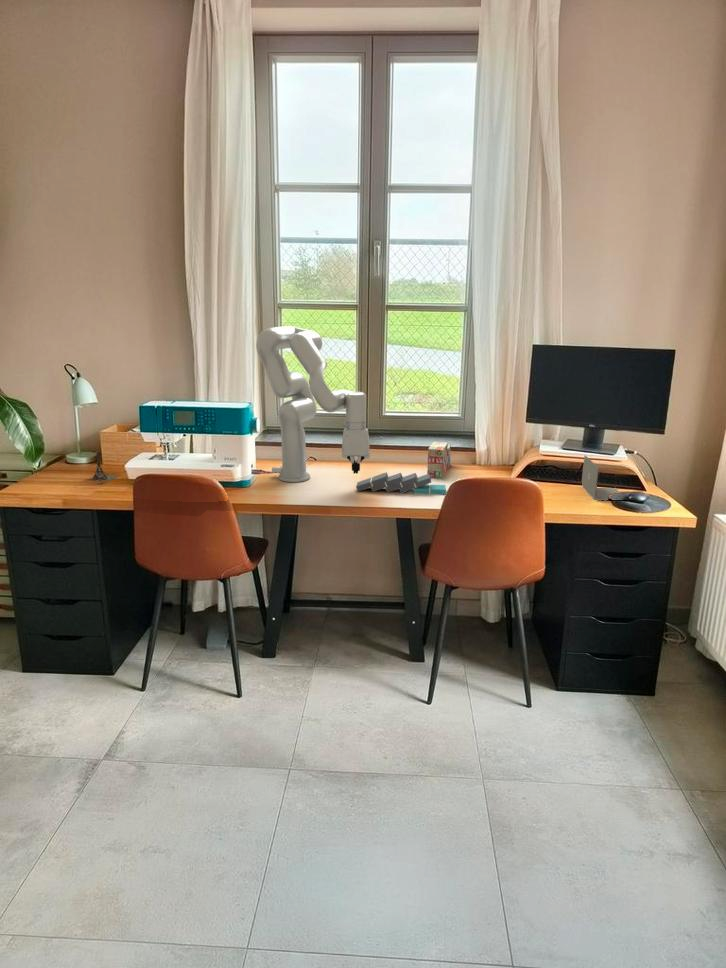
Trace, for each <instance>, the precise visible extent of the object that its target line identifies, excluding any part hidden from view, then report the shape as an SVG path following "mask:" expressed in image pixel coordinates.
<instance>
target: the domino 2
mask: <svg viewBox="0 0 726 968" xmlns="http://www.w3.org/2000/svg"><path fill="white" fill-rule="evenodd" d="M403 477H404V476H403V475H402V472H399V473H396V474H393V475H389V476H388V481H387V482H384V483H381V484H379V485H376V486H373V487H370V490H371V492H372V493H373V492H376V491H379V490H382V489H386V487H389V486H392V485H394V484H397V483H400V482H402V479H403Z"/></svg>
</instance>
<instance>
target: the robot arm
mask: <svg viewBox="0 0 726 968" xmlns="http://www.w3.org/2000/svg"><path fill="white" fill-rule="evenodd" d="M321 337H322V336H321V335H320V334H318V332H316V331H313V330H310V329H305V328H301V327H297V326H292V325H291V326H290V325H286V326H285V325H284V326H272V327H269V328H268V327H267V328H266V329H264V330H262V331H261V332H260V333H259V334H258V335H257V339H256V343H255V349H256V353H257V355H258V357H259V360H260V362H261V363H262V365H263V369H264V371H265V374H266V376H267V379H268V382H269V384H270V387H271V390H272V392H273V394H274V395H275V396H276V397H277V398H278V399H288V398H291V399H289V400H287V401H285V402H283V403H282V404H281V405H280V406H279V408H278V413H277V416H278V421H279V424H280V425H279V426H280V434H281V436H280V438H281V439H280V441H281V464H282V465H281V466H280V467H274V466H273V467H272V468H271V472H272V473H274V474H278V480H280V481H282V482H285V483H286V482H287V483H300V482H305V481H308V480H309V479H310V478H311V474H310V473H309V472H307V455H306V454H307V451H306V450H307V447H306V446H307V445H306V444H307V442H306V432H305V428H304V426H303V423H304V422H307V421H311V420H313V418H315V416H316V414H317V405H319V407H320V408H321V409H322V410H323V411H325V412H327V413H334V412H338V411H342V410H345V421H342V422H341V426H344V427H345V428H344V429H343V432H342V441H341V443H342V444H341V458H343V459H347V460H348V462H350V463H351V471H352V473H353V474H358V473H359V472H360V470H361V462H363V461H364V460H366V459H370V457H371V455H370V436H369V429H368V428H367V395H366V393H364V392H363V391H352V390H348V389H342V388H340V389H335V390H331V389H330V388H329V386H328V385H327V383H326V381H325V378H324V377H325V376H324V372H325V370H326V369H327V367H328V362H327V360H326V359H325V357H324V356H323V354H322V353H321V352H320V351H321V349H322V347H323V340H322V338H321ZM286 349H291V351H292V353H293V354H294V356H295V357H296V359H297V361H298V362H299V363H300V365H301V366H302V368H303V370H304V371H305V373H306V374H307V375H308V381H307V378H306V377H305V376H304V375H303V374H302V373H301V372H300V371H290V370H289V368H288V367H287V366H288V365H287V362H286V360H285V359H284V357H283V356H282V355H281V354H280V353H279V352H278V351H279V350H286ZM316 403H317V404H316ZM355 457H357V460H355Z"/></svg>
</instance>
